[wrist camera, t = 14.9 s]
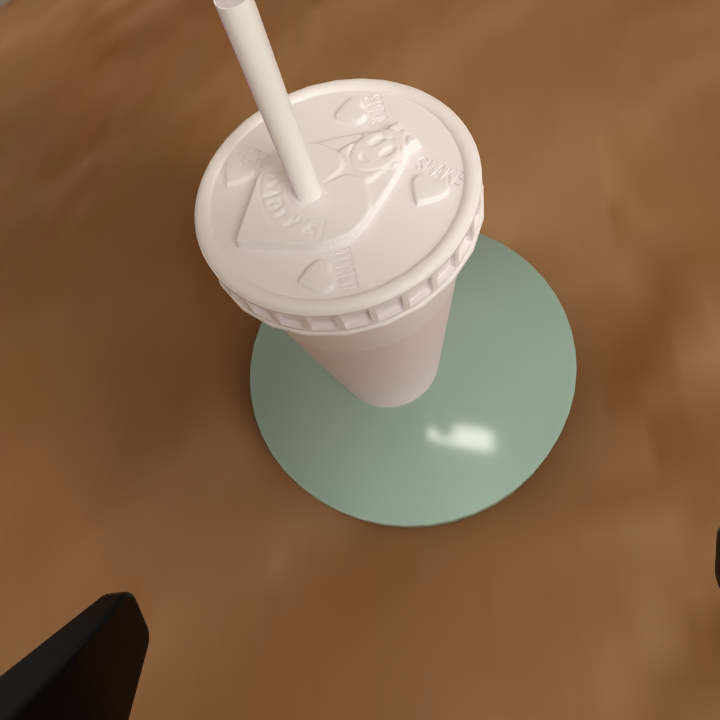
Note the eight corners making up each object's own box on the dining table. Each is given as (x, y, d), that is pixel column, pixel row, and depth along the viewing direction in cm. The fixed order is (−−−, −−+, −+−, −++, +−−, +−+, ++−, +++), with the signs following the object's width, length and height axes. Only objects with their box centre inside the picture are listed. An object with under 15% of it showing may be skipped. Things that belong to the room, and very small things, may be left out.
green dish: (374, 603, 18) (368, 603, 17) (209, 350, 23) (197, 338, 22) (644, 390, 20) (654, 377, 19) (433, 192, 25) (431, 173, 24)
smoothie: (275, 345, 22) (6, -12, 9) (409, 256, 22) (334, -201, 9) (364, 480, 19) (160, 242, 6) (514, 375, 19) (606, -41, 7)
